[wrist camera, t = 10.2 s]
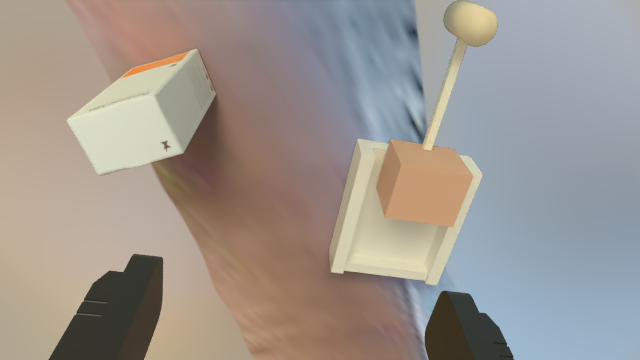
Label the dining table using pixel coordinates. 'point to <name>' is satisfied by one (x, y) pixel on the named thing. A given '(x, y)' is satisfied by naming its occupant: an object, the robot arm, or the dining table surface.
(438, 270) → the shelf lane
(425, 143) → the peach block with knob
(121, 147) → the skincare box
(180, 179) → the dining table surface
